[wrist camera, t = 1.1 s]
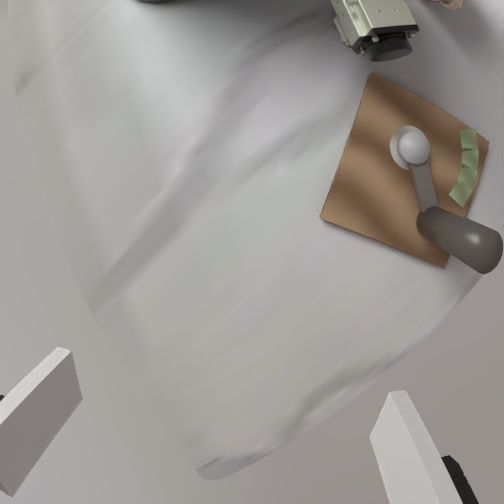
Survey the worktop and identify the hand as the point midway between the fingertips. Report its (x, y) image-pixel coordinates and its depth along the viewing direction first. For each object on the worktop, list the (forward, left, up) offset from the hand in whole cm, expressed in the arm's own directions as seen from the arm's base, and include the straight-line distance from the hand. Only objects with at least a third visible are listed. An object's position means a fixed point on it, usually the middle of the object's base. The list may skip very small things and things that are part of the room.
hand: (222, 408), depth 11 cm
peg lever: (-12, +16, -25) cm, 32 cm away
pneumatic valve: (-27, +2, -27) cm, 38 cm away
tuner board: (-14, +15, -26) cm, 33 cm away
